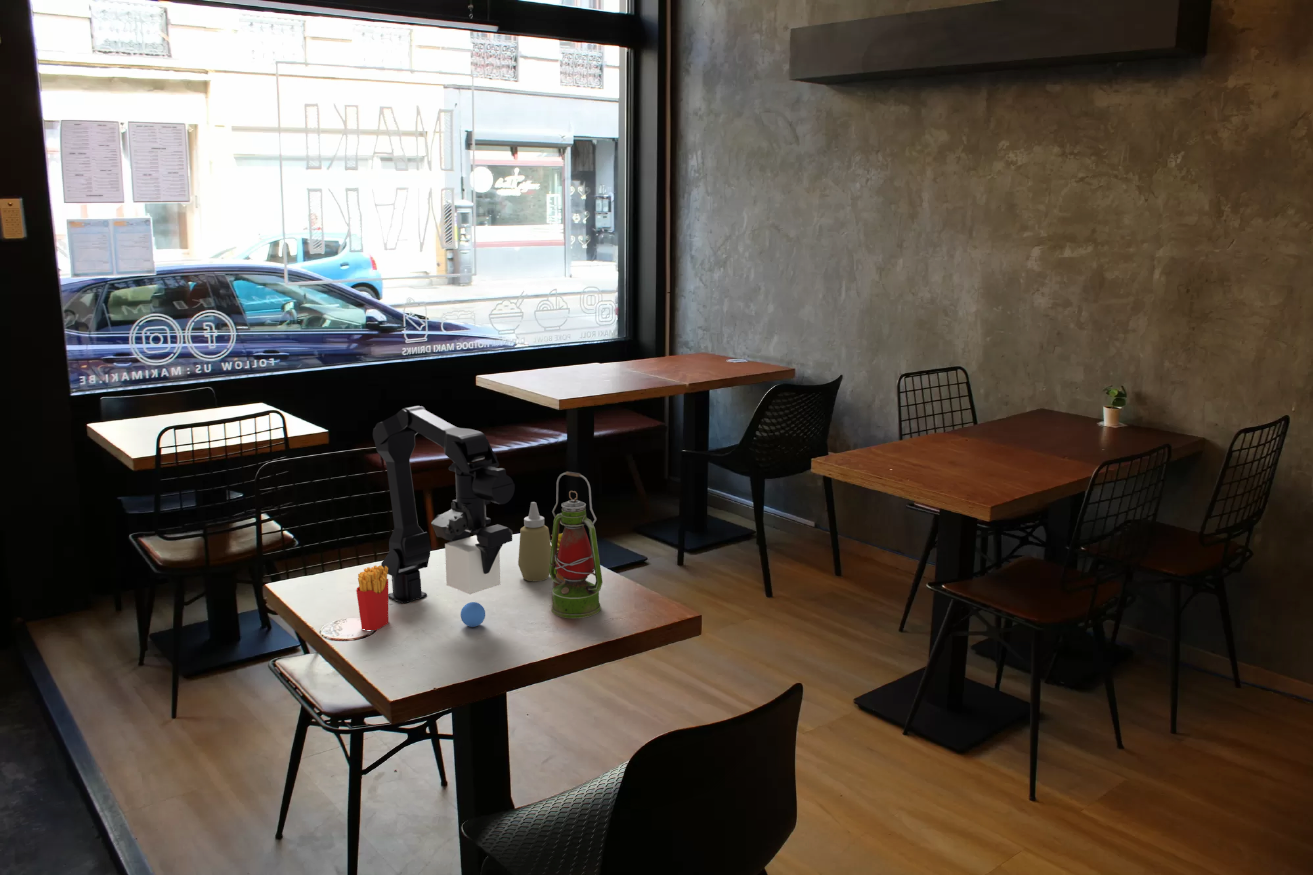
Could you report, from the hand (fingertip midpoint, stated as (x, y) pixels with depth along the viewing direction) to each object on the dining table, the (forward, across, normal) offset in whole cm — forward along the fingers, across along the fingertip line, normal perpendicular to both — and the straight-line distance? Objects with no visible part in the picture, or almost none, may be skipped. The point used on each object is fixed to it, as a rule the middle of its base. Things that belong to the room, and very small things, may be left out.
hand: (474, 568), depth 215 cm
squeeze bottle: (+12, -12, +26) cm, 32 cm away
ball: (+10, 0, -1) cm, 10 cm away
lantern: (+12, +9, +20) cm, 25 cm away
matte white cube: (+3, 0, 0) cm, 3 cm away
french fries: (+12, -15, -14) cm, 24 cm away
